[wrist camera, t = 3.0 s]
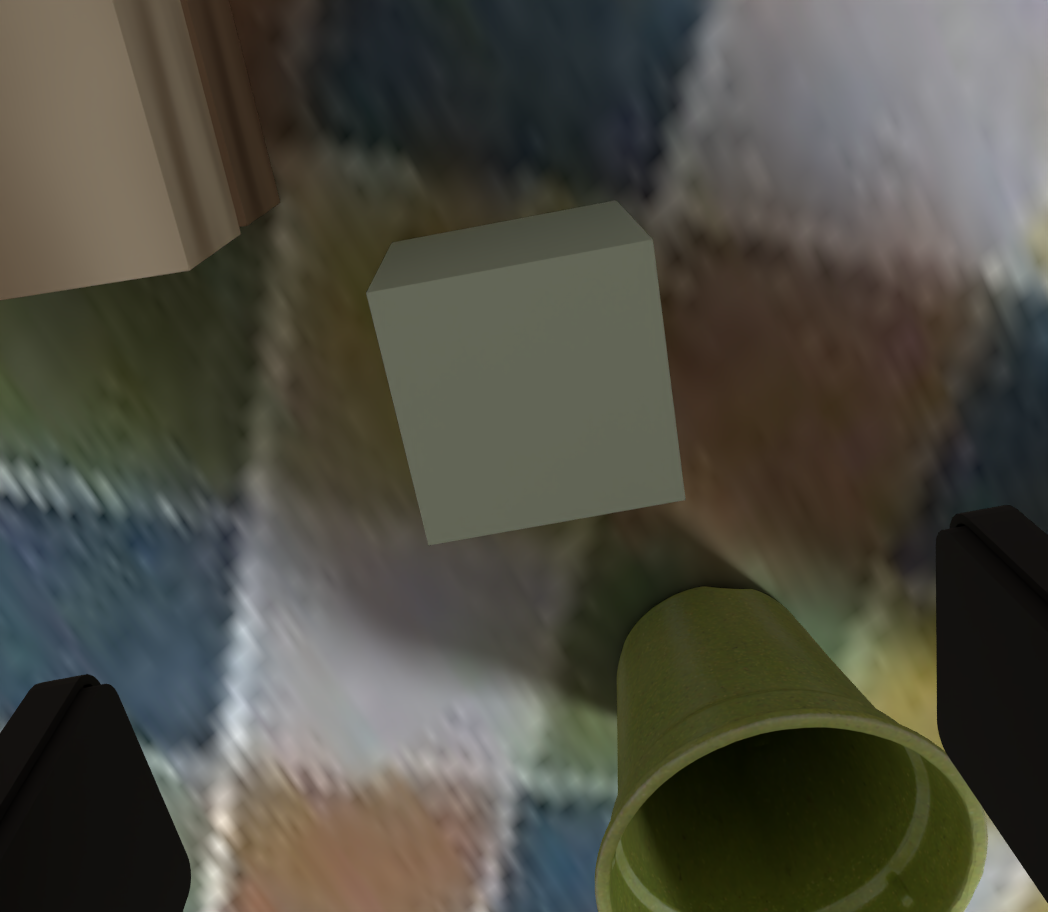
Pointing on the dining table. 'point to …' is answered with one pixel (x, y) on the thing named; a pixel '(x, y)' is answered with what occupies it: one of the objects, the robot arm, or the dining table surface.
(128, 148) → the tower top
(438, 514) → the green cube
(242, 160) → the tower base
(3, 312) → the dining table surface
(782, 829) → the plant pot
